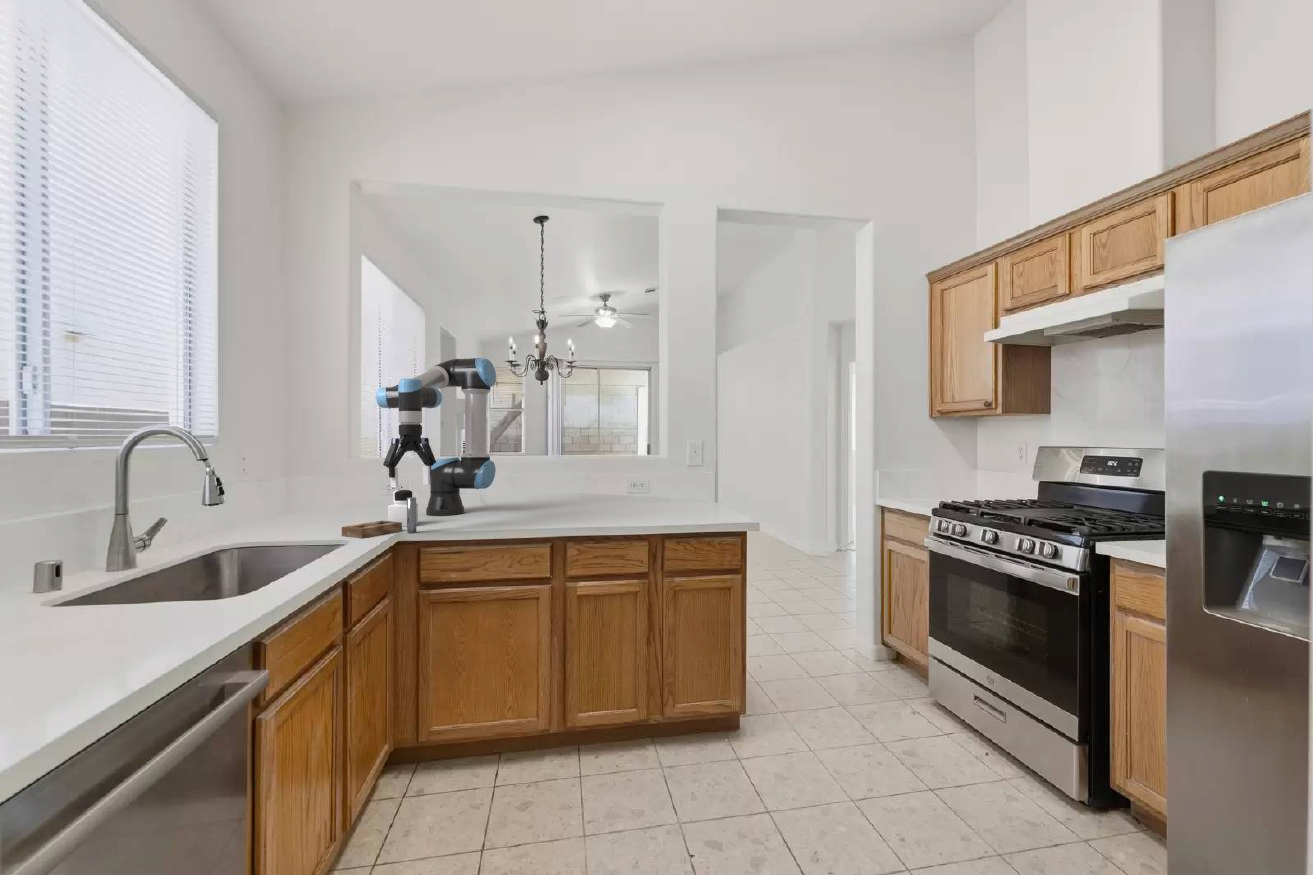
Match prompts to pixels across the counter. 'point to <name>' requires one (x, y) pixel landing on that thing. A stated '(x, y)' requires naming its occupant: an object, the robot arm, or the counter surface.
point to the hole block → (371, 529)
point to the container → (400, 507)
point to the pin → (411, 515)
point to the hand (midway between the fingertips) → (410, 485)
